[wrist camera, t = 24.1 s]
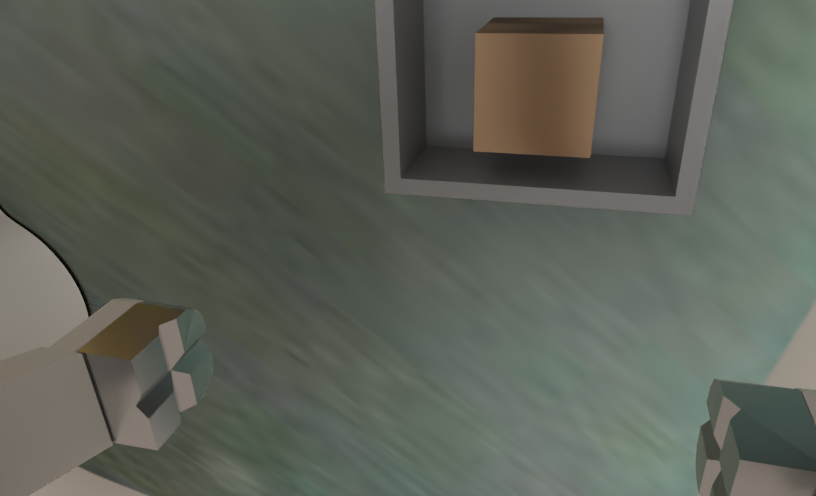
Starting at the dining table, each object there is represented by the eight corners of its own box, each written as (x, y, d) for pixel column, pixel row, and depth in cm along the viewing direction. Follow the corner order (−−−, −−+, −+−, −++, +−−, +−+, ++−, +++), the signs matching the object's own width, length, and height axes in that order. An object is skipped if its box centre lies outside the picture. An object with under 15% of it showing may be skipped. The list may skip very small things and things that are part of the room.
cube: (490, 120, 32) (473, 151, 27) (493, 17, 29) (475, 32, 25) (591, 125, 30) (590, 157, 26) (603, 17, 28) (603, 34, 24)
